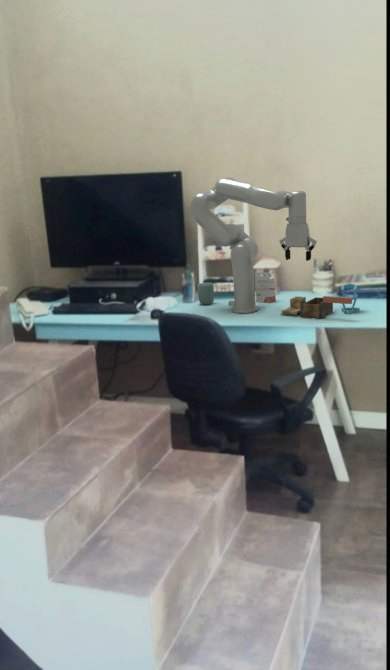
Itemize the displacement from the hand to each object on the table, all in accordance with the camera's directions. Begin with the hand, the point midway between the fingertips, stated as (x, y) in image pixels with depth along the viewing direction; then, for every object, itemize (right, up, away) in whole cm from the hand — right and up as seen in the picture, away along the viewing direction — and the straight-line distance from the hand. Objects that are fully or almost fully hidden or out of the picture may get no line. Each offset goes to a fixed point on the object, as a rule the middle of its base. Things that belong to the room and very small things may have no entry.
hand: (298, 259), depth 281 cm
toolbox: (+8, -24, -3) cm, 26 cm away
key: (+14, -20, -15) cm, 28 cm away
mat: (0, -23, +4) cm, 23 cm away
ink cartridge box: (-11, -17, +31) cm, 37 cm away
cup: (-39, -18, +35) cm, 56 cm away
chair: (+22, -23, -2) cm, 32 cm away
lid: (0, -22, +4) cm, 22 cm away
